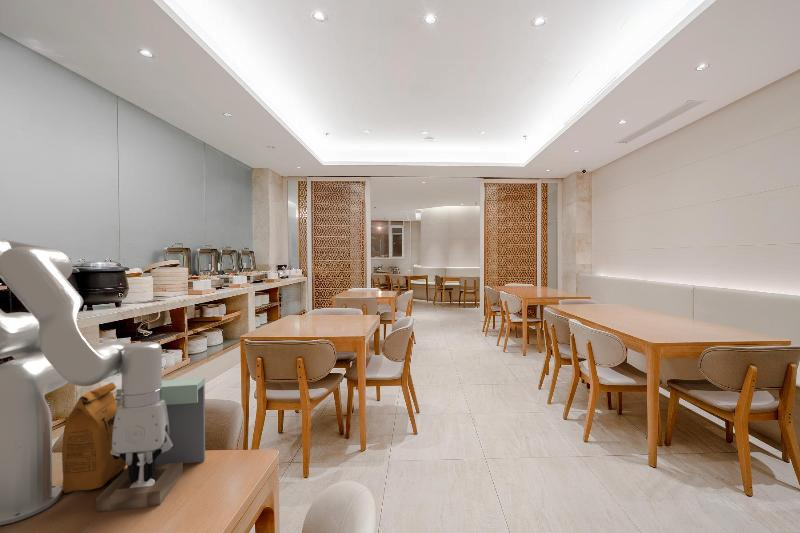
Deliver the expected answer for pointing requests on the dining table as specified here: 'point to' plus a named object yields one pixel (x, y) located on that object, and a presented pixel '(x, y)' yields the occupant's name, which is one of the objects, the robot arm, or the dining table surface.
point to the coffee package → (90, 442)
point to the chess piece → (142, 472)
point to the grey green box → (183, 420)
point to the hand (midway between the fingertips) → (142, 478)
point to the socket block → (140, 489)
